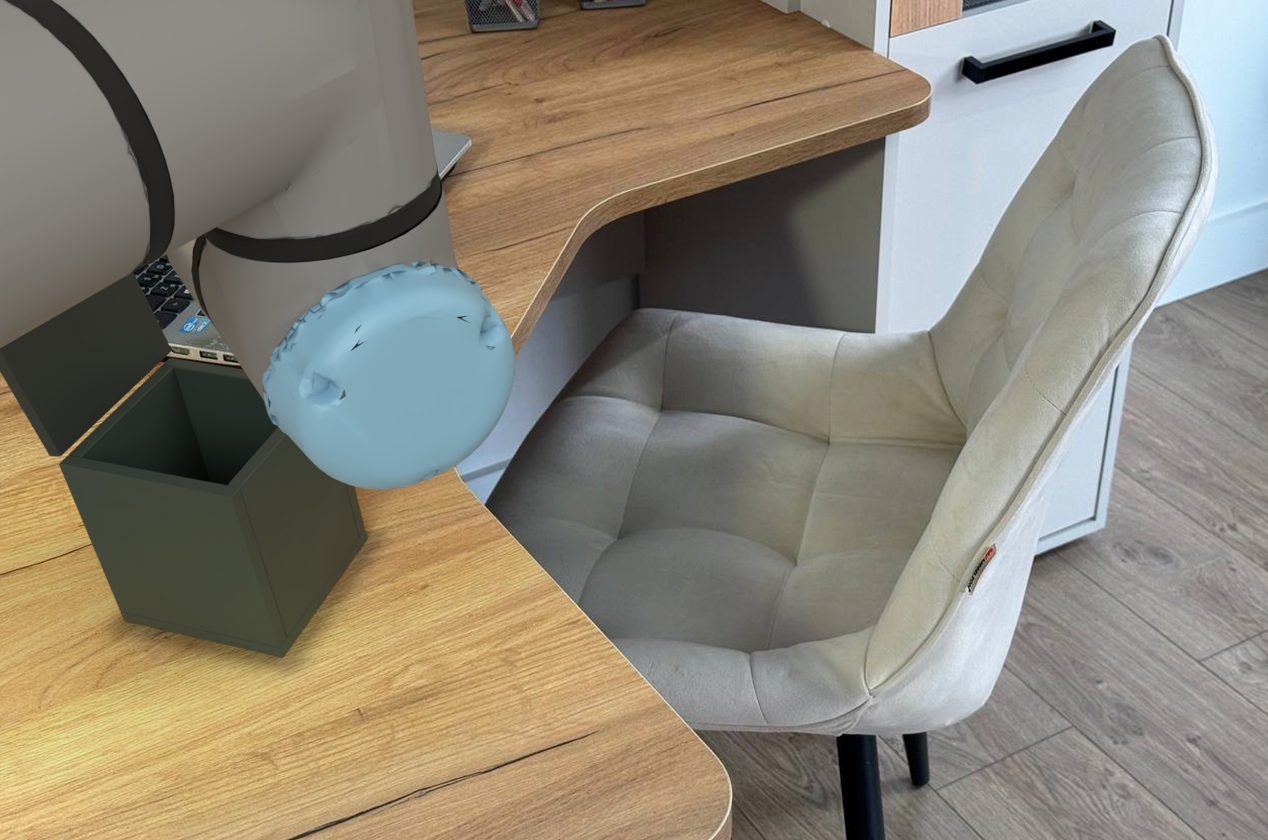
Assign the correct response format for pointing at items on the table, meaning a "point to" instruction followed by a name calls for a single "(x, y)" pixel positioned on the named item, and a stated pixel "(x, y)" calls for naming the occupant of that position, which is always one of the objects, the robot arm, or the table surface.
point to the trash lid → (83, 362)
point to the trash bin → (211, 511)
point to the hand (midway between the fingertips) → (107, 41)
